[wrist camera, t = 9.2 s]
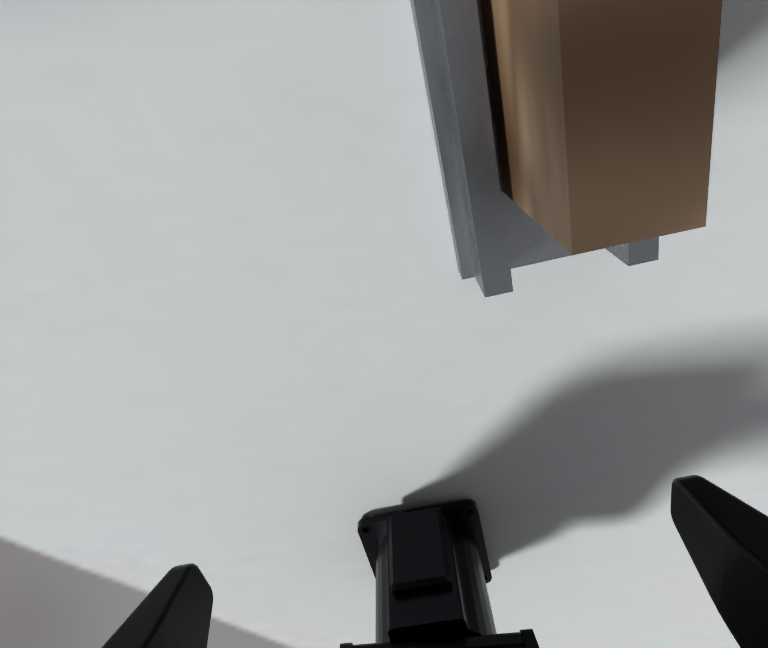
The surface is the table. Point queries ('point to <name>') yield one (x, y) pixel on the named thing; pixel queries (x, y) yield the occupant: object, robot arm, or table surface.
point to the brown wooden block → (604, 114)
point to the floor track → (480, 153)
